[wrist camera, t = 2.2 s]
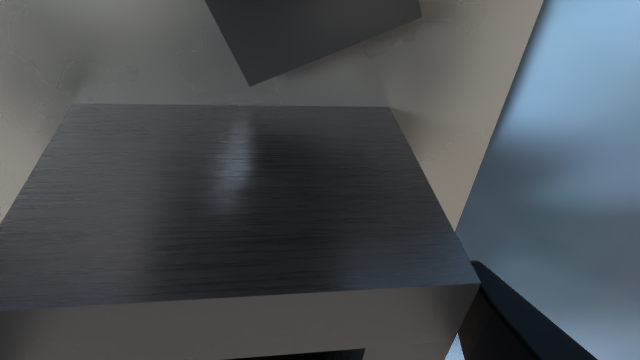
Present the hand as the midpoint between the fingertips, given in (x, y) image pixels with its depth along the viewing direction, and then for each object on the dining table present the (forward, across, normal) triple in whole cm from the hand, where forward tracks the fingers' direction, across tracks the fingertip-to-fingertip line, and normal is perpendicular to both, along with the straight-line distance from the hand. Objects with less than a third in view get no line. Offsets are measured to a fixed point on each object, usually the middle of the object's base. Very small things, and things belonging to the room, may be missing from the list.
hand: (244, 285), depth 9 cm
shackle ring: (+2, 0, 0) cm, 2 cm away
